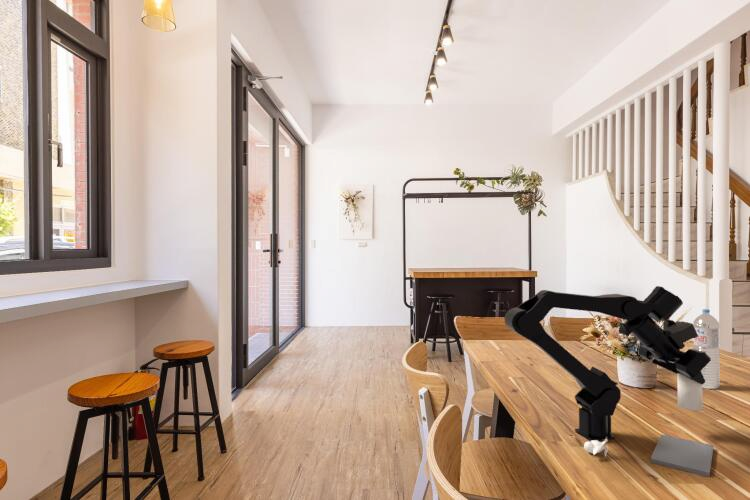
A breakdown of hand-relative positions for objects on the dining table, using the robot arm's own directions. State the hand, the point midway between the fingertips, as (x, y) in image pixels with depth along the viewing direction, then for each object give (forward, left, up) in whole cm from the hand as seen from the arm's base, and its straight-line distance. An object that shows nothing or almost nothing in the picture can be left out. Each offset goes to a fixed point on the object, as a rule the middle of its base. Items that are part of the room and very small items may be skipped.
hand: (695, 379), depth 111 cm
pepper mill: (-1, 0, -7) cm, 7 cm away
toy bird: (-31, -3, -13) cm, 34 cm away
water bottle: (+38, +29, -13) cm, 50 cm away
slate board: (-13, -9, -13) cm, 21 cm away
